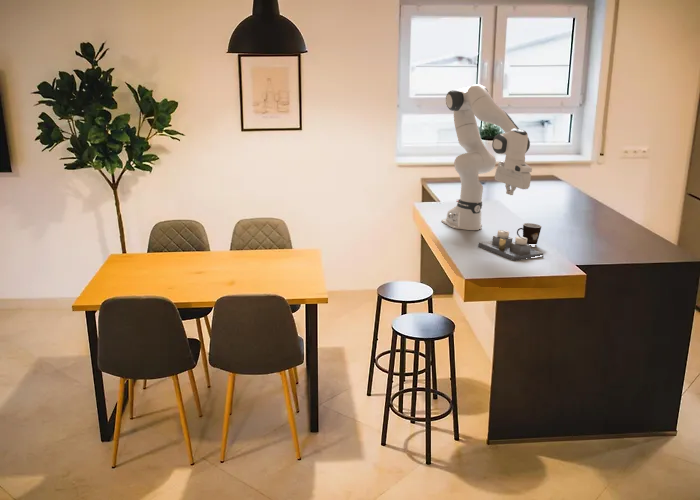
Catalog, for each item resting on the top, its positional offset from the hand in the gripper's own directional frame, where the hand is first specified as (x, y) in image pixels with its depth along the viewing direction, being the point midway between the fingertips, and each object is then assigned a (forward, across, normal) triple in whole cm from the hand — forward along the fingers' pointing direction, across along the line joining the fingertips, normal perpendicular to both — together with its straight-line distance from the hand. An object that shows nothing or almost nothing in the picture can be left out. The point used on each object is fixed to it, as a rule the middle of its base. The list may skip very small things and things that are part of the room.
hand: (509, 194), depth 335 cm
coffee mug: (+26, +1, +15) cm, 30 cm away
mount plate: (+25, +8, -2) cm, 27 cm away
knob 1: (+23, +2, -2) cm, 23 cm away
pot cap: (+23, +8, -8) cm, 26 cm away
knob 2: (+23, +14, -2) cm, 27 cm away
